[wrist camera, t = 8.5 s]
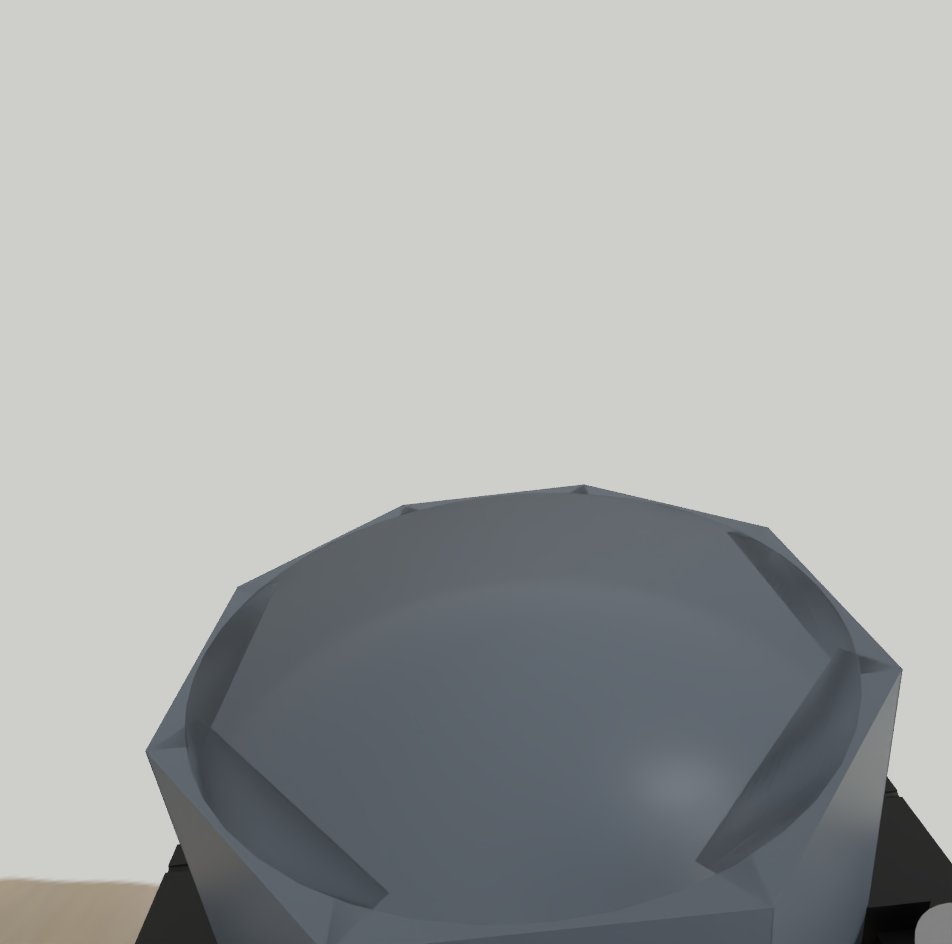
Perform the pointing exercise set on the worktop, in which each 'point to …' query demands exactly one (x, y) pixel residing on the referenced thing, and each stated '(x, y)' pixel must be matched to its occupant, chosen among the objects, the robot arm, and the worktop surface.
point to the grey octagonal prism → (533, 735)
